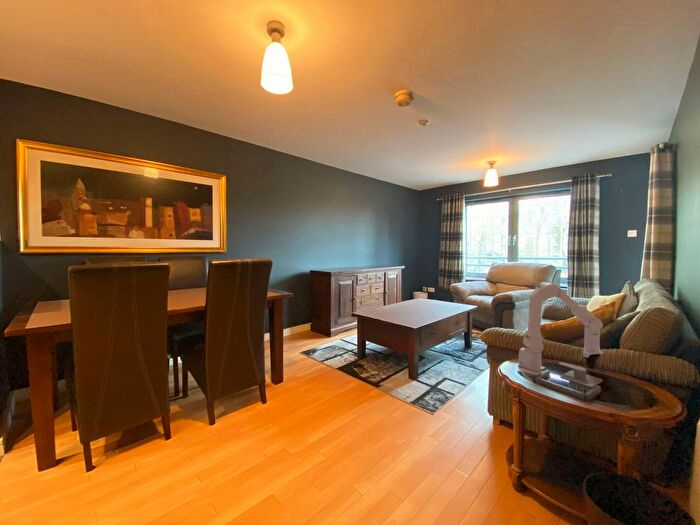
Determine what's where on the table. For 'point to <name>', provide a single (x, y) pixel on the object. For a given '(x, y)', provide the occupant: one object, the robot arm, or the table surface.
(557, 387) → the mounting bracket
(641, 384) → the table surface
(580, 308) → the robot arm
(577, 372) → the shower valve
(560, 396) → the table surface
